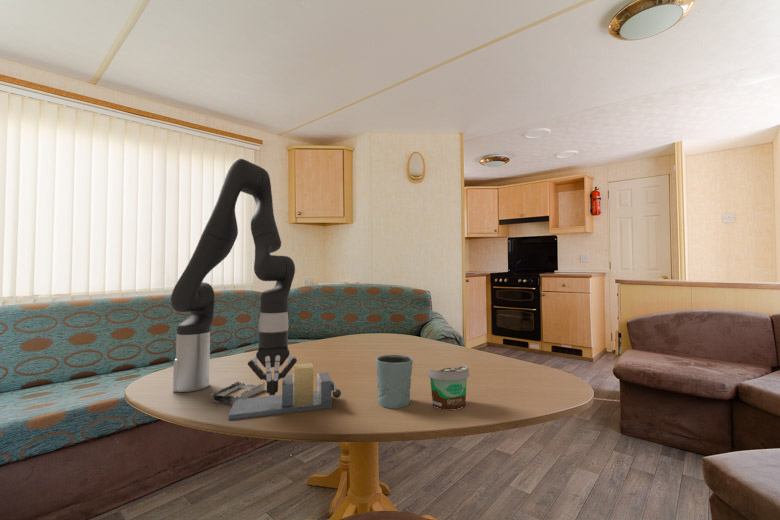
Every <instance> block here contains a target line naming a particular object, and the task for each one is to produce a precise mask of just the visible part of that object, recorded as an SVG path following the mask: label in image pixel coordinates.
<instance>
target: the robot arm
mask: <svg viewBox="0 0 780 520" xmlns="http://www.w3.org/2000/svg"><path fill="white" fill-rule="evenodd" d="M270 177H271V176H270V175H269V172H268V171H267V170H266V169H265V168H263V167H262V166H259V165H257V164H255V163H253V162H250V161H249V160H247V159H244V158H237V159H235V160H233V162H232V163H231V164H230V165H229V168H228V170H227V172H226V175H225V178H224V180H223V184H222V187H221V189H220V191H219V195H218V198H217V200H216V203H215V205H214V208H213V210H212V213H211V214H210V217H209V218H208V220H207V222H206V225H205V227H204V228H203V231H202V234H201V235H200V238H199V240H198V243H197V245H196V248H195V250H194V251H193V254H192V255H191V258H190V260H188V261H189V262H188V263H187V265H186V267H185V269H184V271H183V272H182V273H181V276H180V277H179V279H178V280H177V282H176V284H175V286H174V288H173V290H172V292H171V296H170V304H171V306H172V309H173V310H174V311H176V312H179V313H188V312H189V313H190V315H189V317H188V318H186V319H185V320H184V321H182V322H180V323H179V324H178V325H177V327H176V346H175V347H176V349H175V351H176V352H175V359H174V360H173V371H172V374H173V375H172V376H173V378H172V379H173V381H172V382H173V383H172V392H179V393H187V392H189V393H190V392H195V391H200V390H203V389H206V388H207V387H209V386H210V359H211V358H210V357H211V356H210V355H211V354H210V353H211V352H210V351H211V327H212V324H213V321H214V311H215V291H214V288H213V287H212V285H211V284H209V283H208V282H203V281H204V280H205V278H206V277H207V275H208V274H209V273H210V272H211V271H212V270H213V269H214V268H216V267H217V266H218V265H219V264H220V263H221V262H222V261H224V260H225V259H226V258H227V257H228V255H230V254H231V251H232V249H233V246H234V244H235V242H236V240H237V237H238V233H239V229H238V228H239V227H238V222H237V216H236V205H237V201H238V199H239V196H240V194H241V192H242V193H244V194H247V195H250V196H252V197H253V200H254V201H255V204H256V206H255V207H256V208H255V210H254V212H253V215H252V217H251V221H250V231H251V235H252V239H253V243H254V264H253V265H254V266H253V272H254V274H255V276H256V277H257V278H258V280H260V281H262V282H275V285H274V286H273V288H270V289H267V290H264V291H263V292H261V294H260V308H259V309H260V310H259V311H260V313H259V319H258V326H257V327H258V328H257V329H258V343H257V344H258V348H257V351H256V354H255V356H254V357H252V359H249V360H248V362H247V366H248V367H249V368H250V370H252V372H253V373H254V374H255V375H256V376H257V377H258V378H259V380H261V381H262V380H263V381H265V382H266V394H269V395H268V396H274V395H276V393H278V392H279V380H281V379H283V378H284V377H285V376H287V375H288V373H289V372H290V371H291V370H292V368H294V364H297V362H298V360H297V359H298V358H297V356H294V355H292V354H291V353H290V350H289V327H290V326H289V314H288V310H289V309H288V305H289V303H288V301H289V295H290V290H291V288H292V287H291V286H292V284H293V280H294V278H295V274H296V265H295V262H294V260H293V259H292V258H291V257H290V256H287V255H286V256H285V255H276V254H275V255H273V253H275V252H277V251H279V250H280V249H281V246H282V240H281V237H280V233H279V231H278V230H279V229H278V226H277V222H276V219H275V215H274V205H273V194H272V184H271V183H272V182H271V178H270ZM285 361H286V362H287V364H286V365H285V367H284V368H283V369H282V370H281V372H280V367H282V366H283V365H284V363H285ZM259 362H260V363H261V365H262V367H264V369H265V372H264V371H263V370H262V369H261V367H259V366H260V365H259ZM272 368H274V369H273V373H272Z"/></svg>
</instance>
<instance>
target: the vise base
mask: <svg viewBox="0 0 780 520" xmlns="http://www.w3.org/2000/svg"><path fill="white" fill-rule="evenodd" d="M316 375H317V377H316V378H317V379H316V381H317V382H316V384H317V385H316V390H315V391H314V390H313V401H309V402H300V403H294V405H293V406H284V407H282V394H275V395H270V396H269V395H267V396H258V397H257V396H256V397H249V398H245V399H236V400H235V401H234V404H232V405H231V408H230V410H229V413H228V421H232V420H233V419H234V420H241V418H242V419H248V418H249V417H250V418H257V417H258V416H259V417H266V415H267V416H274V415H284V414H290V413H299V412H307V411H308V412H309V411H317V410H325V409H332V408H333V402H332V396H333V397H334V398H335V399H338V398H340V397H341V395H342V391H341V390H340V389H339V388H337V386H336V384H335V382H334V381H333V380H332V378H331V377H330V374H329V372H327V371H325V372H318V373H317V374H316ZM259 417H258V418H259ZM250 418H249V419H250Z"/></svg>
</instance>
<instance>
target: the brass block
mask: <svg viewBox="0 0 780 520" xmlns="http://www.w3.org/2000/svg"><path fill="white" fill-rule="evenodd" d="M293 375H294V403H300V402H309V401H313V391H314V364H313V362H305V363H295V364H294V366H293Z"/></svg>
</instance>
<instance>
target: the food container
mask: <svg viewBox="0 0 780 520" xmlns="http://www.w3.org/2000/svg"><path fill="white" fill-rule="evenodd" d="M427 373H428V375H427V377H428V378H430V379H429V380H430V389H431V399H432V406H435V407H438V408H441V409H440V410H443V409H458V408H461V407H463V406H464V405H465V406H466V398H467V397H466V396H467V386H468V385H467V383H468V382H467V381H468V378H469V377H470V376H471V375H470V370H469V368H468V365H466V364H465V363H462V365H461V366H459V367H445V368H443V369H440V370H437V369H436V370H435V369H432V368H429V371H428V372H427ZM435 407H434V408H435ZM438 408H437V409H438ZM463 408H464V407H463ZM458 410H459V409H458Z"/></svg>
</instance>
